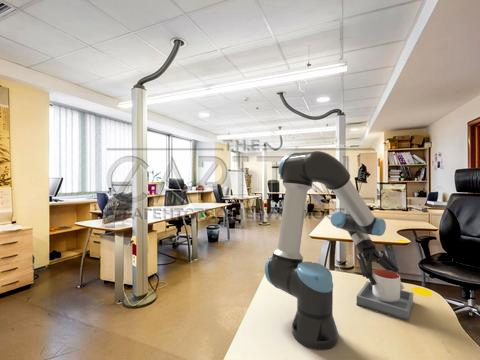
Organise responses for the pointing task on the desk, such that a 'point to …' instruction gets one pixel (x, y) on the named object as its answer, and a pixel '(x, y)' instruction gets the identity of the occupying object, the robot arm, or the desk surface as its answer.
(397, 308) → the tray
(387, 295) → the cup
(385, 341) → the desk surface
